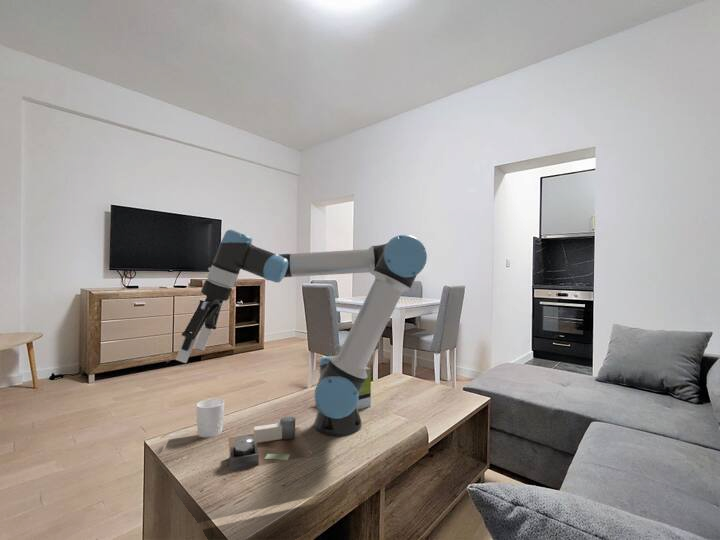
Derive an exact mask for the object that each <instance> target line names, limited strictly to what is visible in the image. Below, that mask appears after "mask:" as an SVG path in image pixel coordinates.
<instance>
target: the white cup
mask: <svg viewBox="0 0 720 540" xmlns="http://www.w3.org/2000/svg"><path fill="white" fill-rule="evenodd" d="M225 404H226V402H225V400H224V399H222V398H208V399H204V400H201V401H199V402H198V403H196V405H195V406H196V428H197V436H198V437H200V438H212V437H215V436H218V435H220V434H221V433H222V431H223V426H224V416H225Z"/></svg>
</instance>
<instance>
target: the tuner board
mask: <svg viewBox="0 0 720 540" xmlns="http://www.w3.org/2000/svg"><path fill="white" fill-rule="evenodd" d="M242 436H252V437H253V452H252V453H251V454H249V455H246V456H238V455H236V454H235V440H236V439H237V438H239V437H242ZM307 457H313V453H312V451H311V450H310V447H309V445H308V443H307V442H306V439H305V437H304V435H303V433H302V430H301V428H300V427H299V426H297V427H296V426H295V437H294V438H292V439H278V440H271V441H265V442H259V443H254V433H251V434H245V435H239V436H232V437H229V472H232V471H236V470H237V471H239V470H243V469H247V468H248V469H249V468H253V467H259V466H265V465H270V464H275V463H276V464H277V463H280V462H285V461H291V460H296V459H301V458H307Z"/></svg>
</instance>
